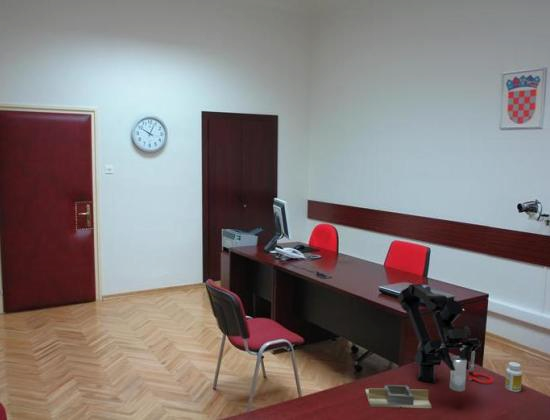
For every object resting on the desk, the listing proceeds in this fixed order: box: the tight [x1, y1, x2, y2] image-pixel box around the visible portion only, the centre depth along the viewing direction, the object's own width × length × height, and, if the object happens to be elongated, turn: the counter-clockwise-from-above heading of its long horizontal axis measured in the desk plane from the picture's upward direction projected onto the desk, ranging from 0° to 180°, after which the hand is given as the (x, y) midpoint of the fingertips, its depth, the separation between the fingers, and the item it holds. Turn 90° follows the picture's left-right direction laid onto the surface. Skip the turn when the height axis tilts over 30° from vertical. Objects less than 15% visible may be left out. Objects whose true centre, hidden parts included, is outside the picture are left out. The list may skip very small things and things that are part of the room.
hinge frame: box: [364, 384, 432, 409], centre depth 173 cm, size 11×21×4 cm, turn 89°
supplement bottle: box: [504, 361, 523, 393], centre depth 182 cm, size 5×5×10 cm
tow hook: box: [468, 350, 495, 385], centre depth 190 cm, size 8×13×9 cm
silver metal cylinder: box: [449, 355, 467, 392], centre depth 167 cm, size 5×5×10 cm
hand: (460, 369), depth 166 cm, fingers closed on silver metal cylinder, 5 cm apart
